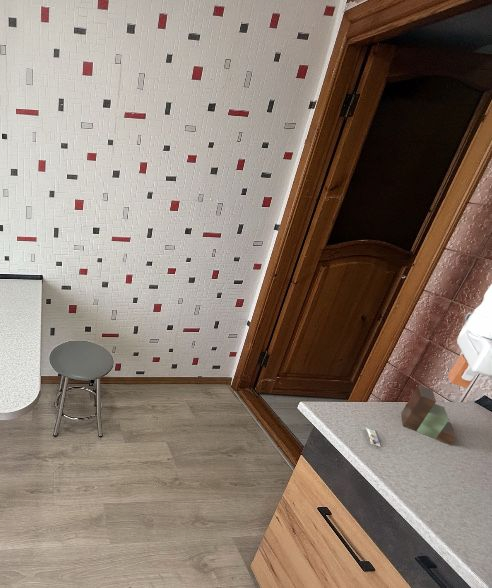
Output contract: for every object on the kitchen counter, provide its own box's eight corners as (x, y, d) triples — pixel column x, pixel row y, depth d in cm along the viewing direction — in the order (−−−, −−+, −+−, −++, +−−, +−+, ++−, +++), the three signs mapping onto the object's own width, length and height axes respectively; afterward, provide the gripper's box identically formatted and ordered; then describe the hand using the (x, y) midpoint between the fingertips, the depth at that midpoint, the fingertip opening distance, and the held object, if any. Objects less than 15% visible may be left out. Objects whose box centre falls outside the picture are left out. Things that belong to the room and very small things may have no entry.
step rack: (446, 430, 96) (467, 401, 91) (450, 445, 91) (472, 414, 86) (400, 413, 101) (418, 384, 97) (402, 425, 96) (421, 396, 92)
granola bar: (364, 428, 95) (366, 426, 94) (374, 432, 94) (376, 429, 93) (369, 444, 89) (371, 442, 89) (380, 448, 88) (382, 446, 88)
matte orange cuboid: (463, 379, 89) (477, 358, 87) (467, 388, 86) (482, 366, 83) (447, 374, 91) (461, 353, 88) (450, 382, 87) (465, 361, 85)
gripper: (527, 349, 72) (490, 398, 78) (500, 319, 87) (471, 362, 93) (485, 338, 76) (453, 386, 82) (466, 311, 91) (440, 353, 96)
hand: (462, 373), depth 87 cm, fingers closed on matte orange cuboid, 5 cm apart
